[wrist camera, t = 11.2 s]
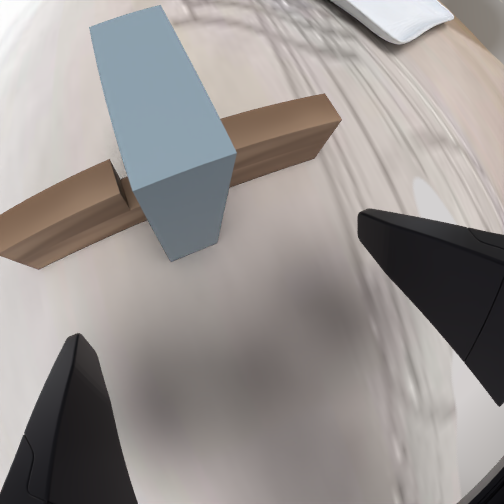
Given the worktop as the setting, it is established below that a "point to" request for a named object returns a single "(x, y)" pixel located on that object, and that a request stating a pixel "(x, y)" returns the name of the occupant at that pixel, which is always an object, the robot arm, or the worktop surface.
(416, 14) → the salad plate
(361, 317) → the worktop surface
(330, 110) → the slotted rail
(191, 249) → the rectangular block
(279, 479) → the worktop surface
